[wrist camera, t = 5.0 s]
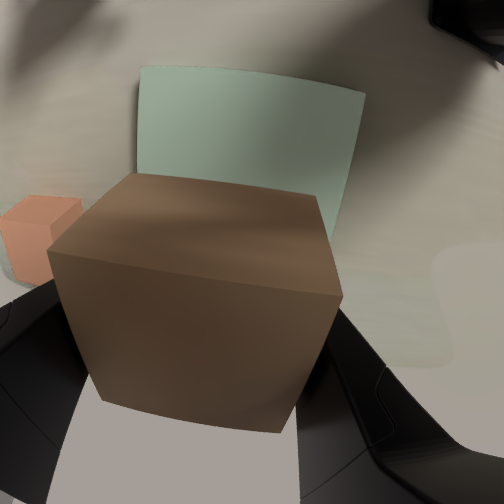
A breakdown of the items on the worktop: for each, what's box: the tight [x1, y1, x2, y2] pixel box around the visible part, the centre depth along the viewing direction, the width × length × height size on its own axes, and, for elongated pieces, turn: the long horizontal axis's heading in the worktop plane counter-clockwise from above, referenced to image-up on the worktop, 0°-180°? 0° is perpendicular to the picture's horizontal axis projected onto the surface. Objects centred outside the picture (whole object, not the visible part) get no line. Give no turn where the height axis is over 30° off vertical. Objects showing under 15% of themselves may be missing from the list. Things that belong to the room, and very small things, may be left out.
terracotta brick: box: [0, 195, 83, 286], centre depth 18 cm, size 5×5×4 cm
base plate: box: [137, 66, 366, 243], centre depth 16 cm, size 11×11×2 cm
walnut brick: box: [46, 173, 343, 433], centre depth 8 cm, size 5×5×4 cm
